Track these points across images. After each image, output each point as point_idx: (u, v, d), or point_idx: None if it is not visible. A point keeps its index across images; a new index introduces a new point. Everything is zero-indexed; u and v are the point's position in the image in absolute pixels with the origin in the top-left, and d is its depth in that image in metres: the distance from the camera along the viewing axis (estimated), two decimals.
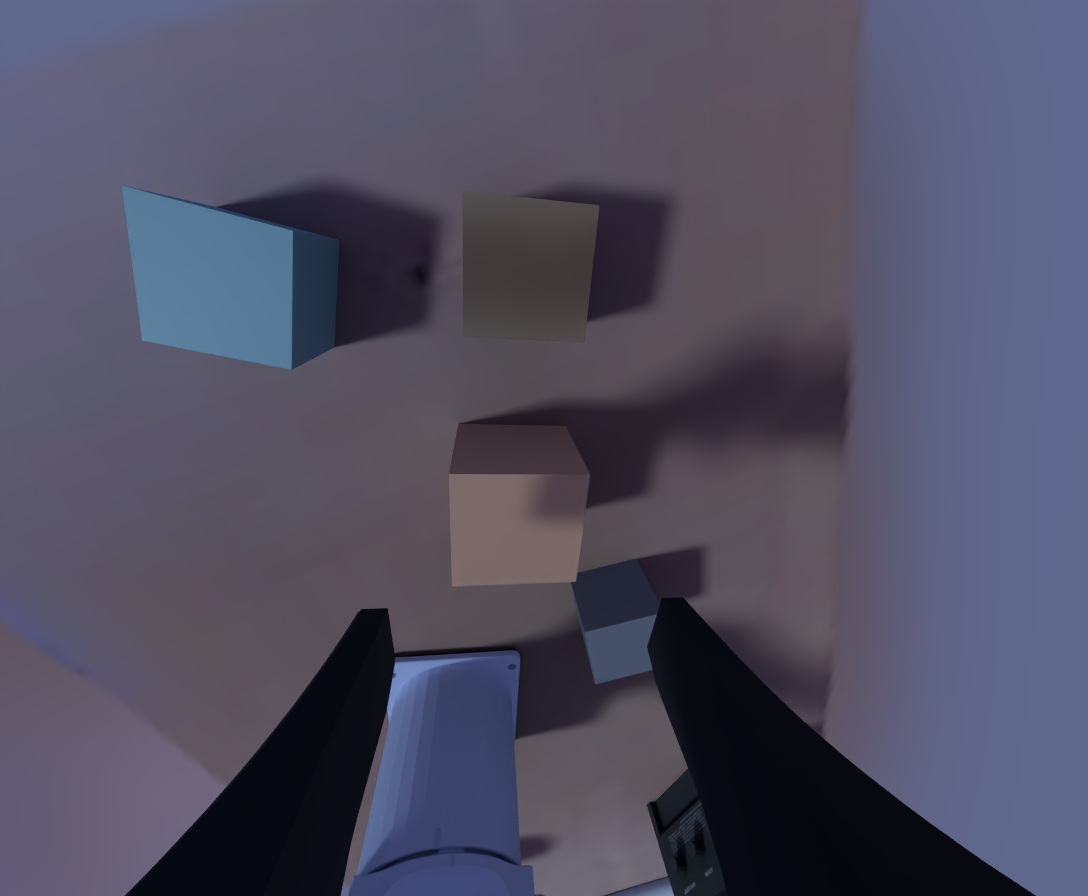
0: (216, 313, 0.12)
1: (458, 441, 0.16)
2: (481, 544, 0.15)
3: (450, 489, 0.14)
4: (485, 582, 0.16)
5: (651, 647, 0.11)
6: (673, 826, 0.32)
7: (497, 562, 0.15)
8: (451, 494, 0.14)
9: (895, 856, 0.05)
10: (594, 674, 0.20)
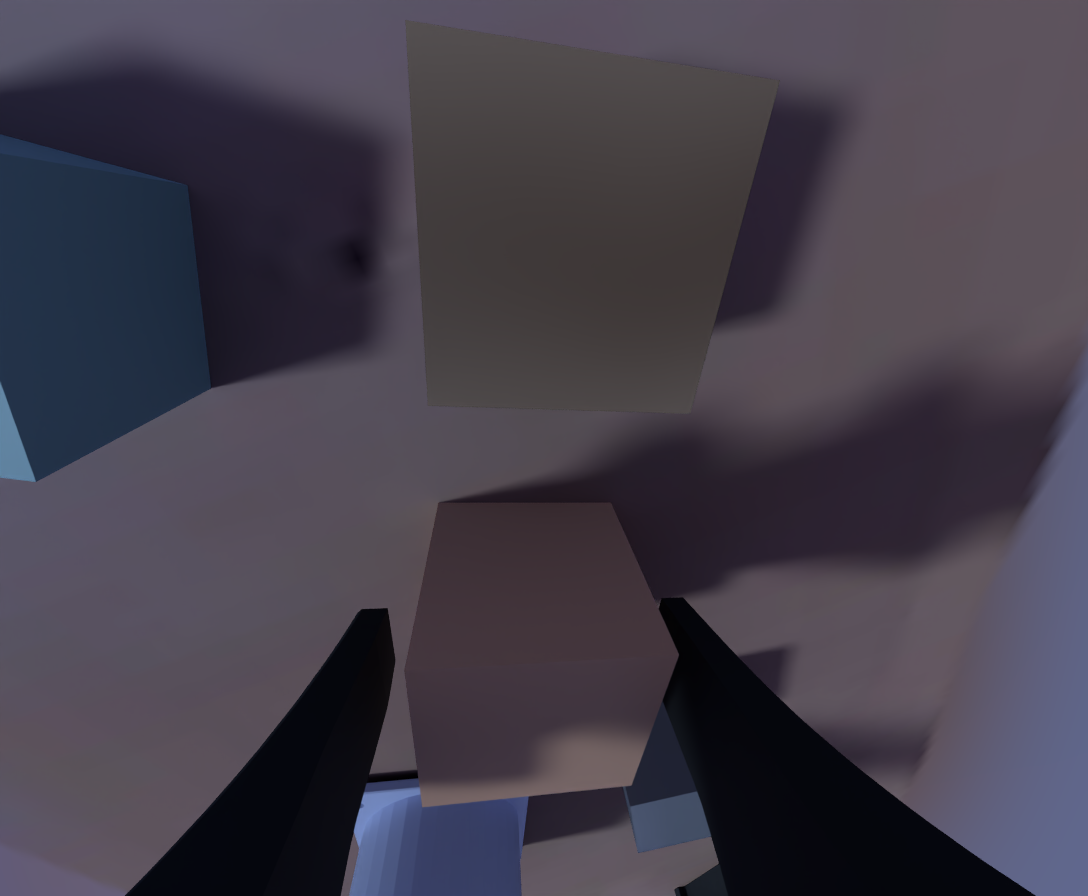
0: None
1: (434, 554, 0.09)
2: (472, 757, 0.08)
3: (409, 691, 0.07)
4: (480, 799, 0.09)
5: None
6: None
7: (499, 775, 0.09)
8: (412, 697, 0.07)
9: (895, 856, 0.05)
10: (638, 844, 0.14)
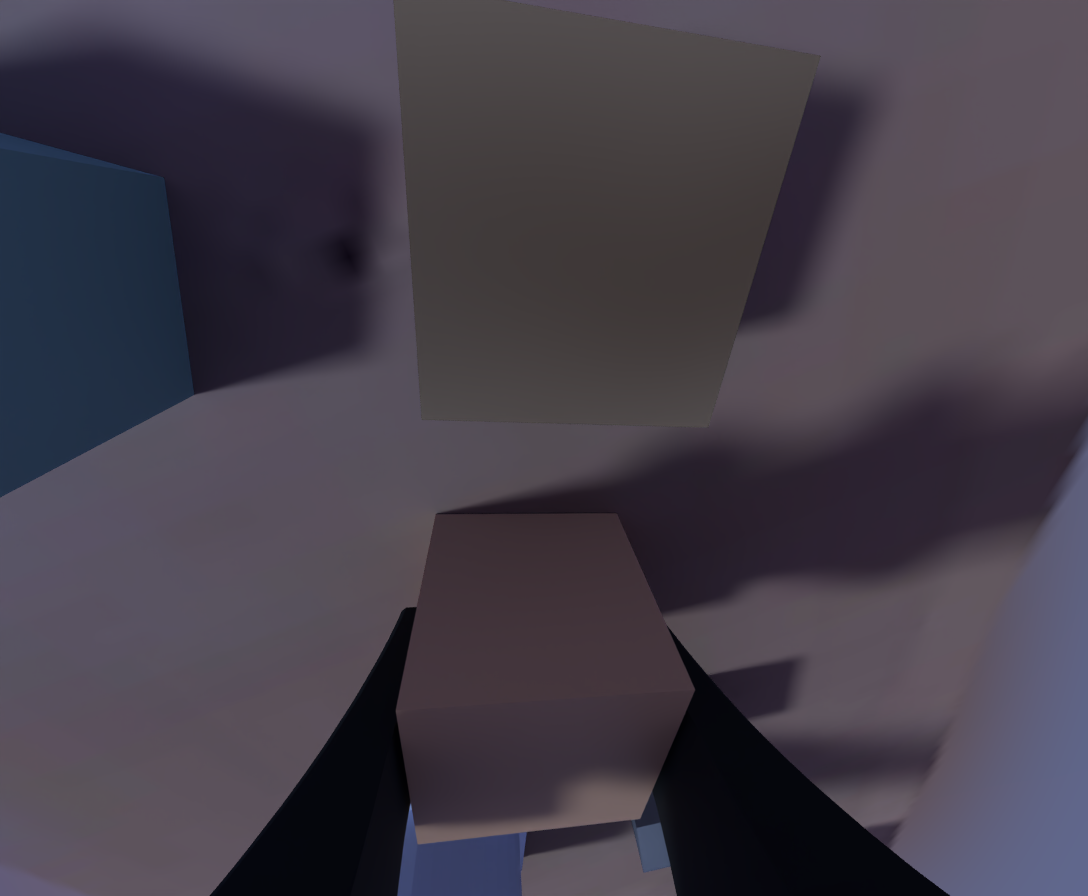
0: None
1: (429, 574, 0.09)
2: (471, 794, 0.08)
3: (401, 731, 0.07)
4: (479, 835, 0.09)
5: None
6: None
7: (500, 811, 0.08)
8: (404, 737, 0.07)
9: (827, 865, 0.05)
10: (644, 864, 0.14)
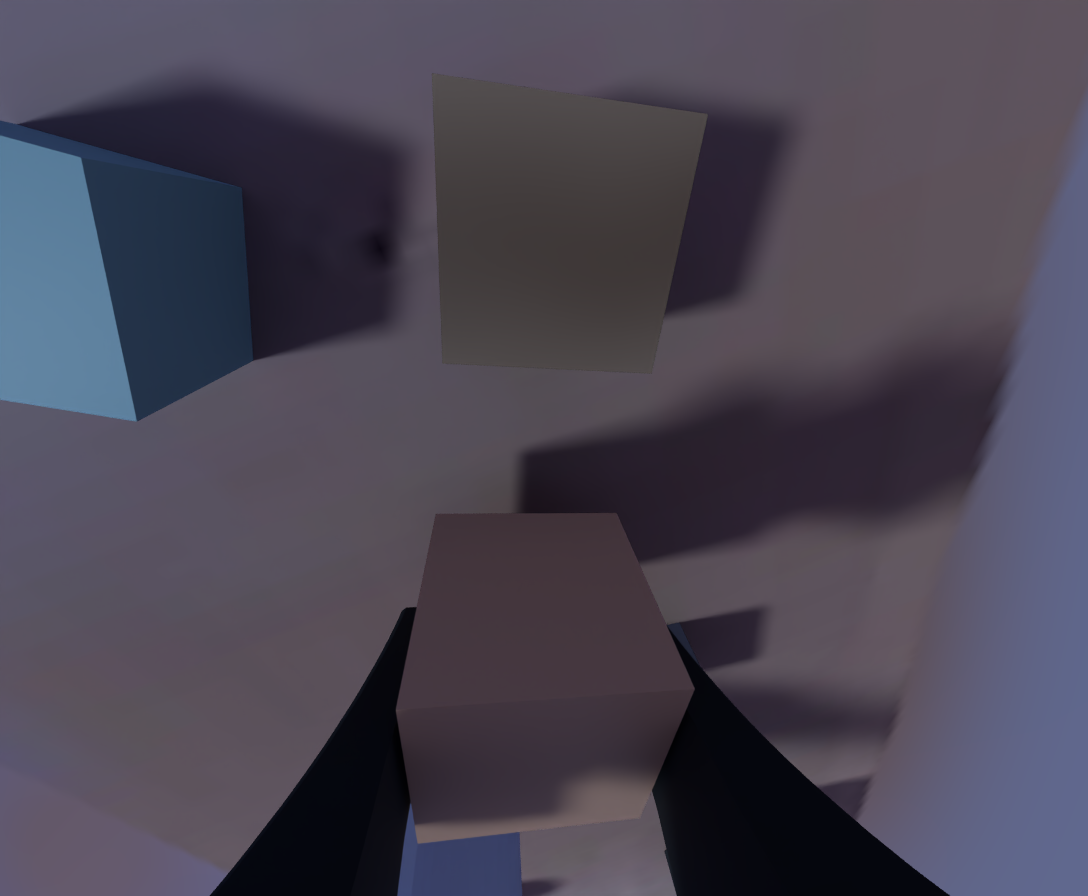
0: None
1: (429, 574, 0.09)
2: (470, 794, 0.08)
3: (401, 730, 0.07)
4: (479, 833, 0.09)
5: None
6: None
7: (500, 811, 0.08)
8: (404, 736, 0.07)
9: (827, 866, 0.05)
10: None
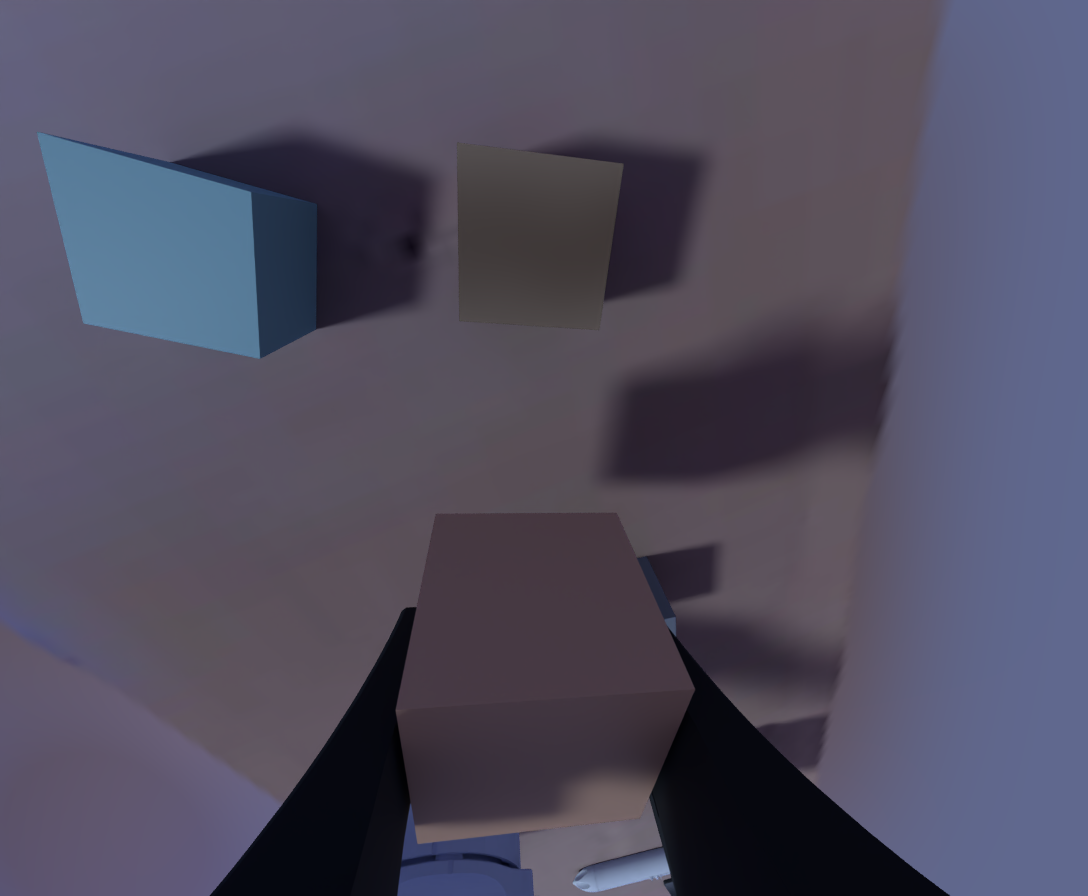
0: (166, 292, 0.10)
1: (429, 574, 0.09)
2: (471, 794, 0.08)
3: (401, 730, 0.07)
4: (479, 834, 0.09)
5: None
6: None
7: (500, 811, 0.08)
8: (404, 736, 0.07)
9: (827, 866, 0.05)
10: None
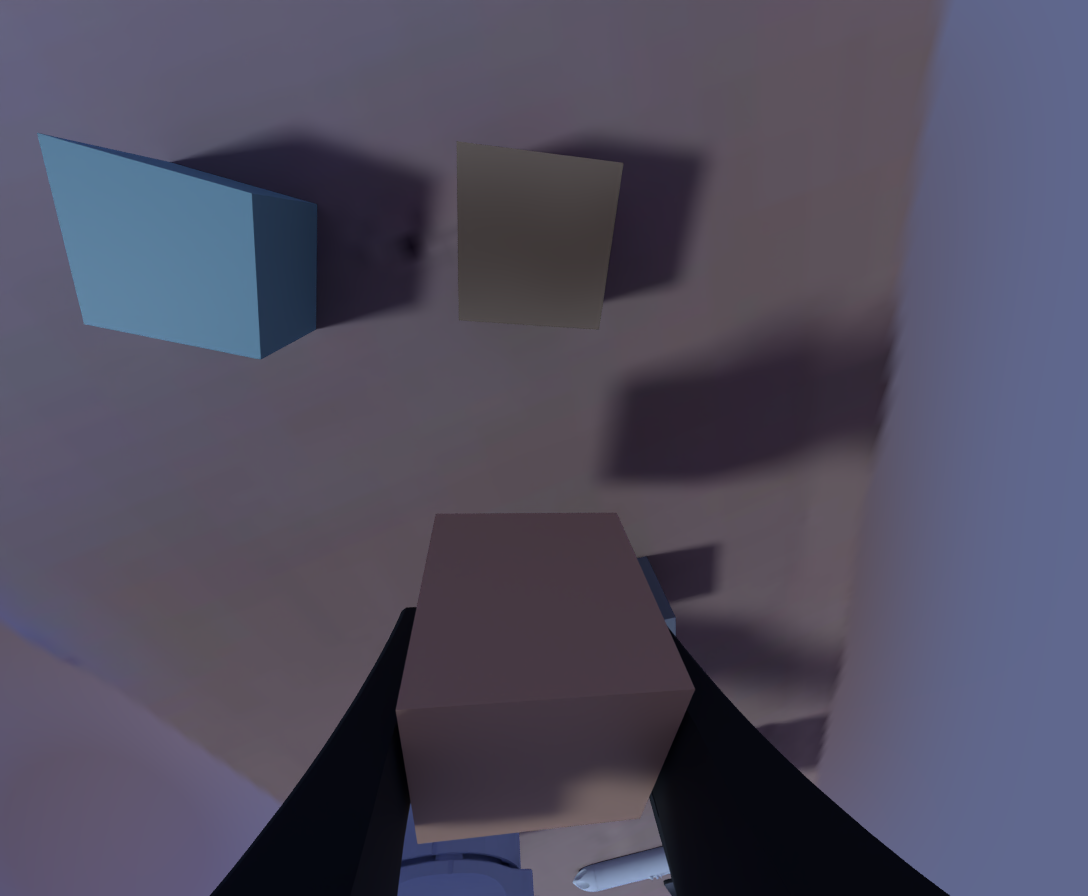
0: (167, 293, 0.10)
1: (429, 574, 0.09)
2: (471, 794, 0.08)
3: (401, 730, 0.07)
4: (479, 834, 0.09)
5: None
6: None
7: (500, 811, 0.08)
8: (404, 736, 0.07)
9: (827, 866, 0.05)
10: None
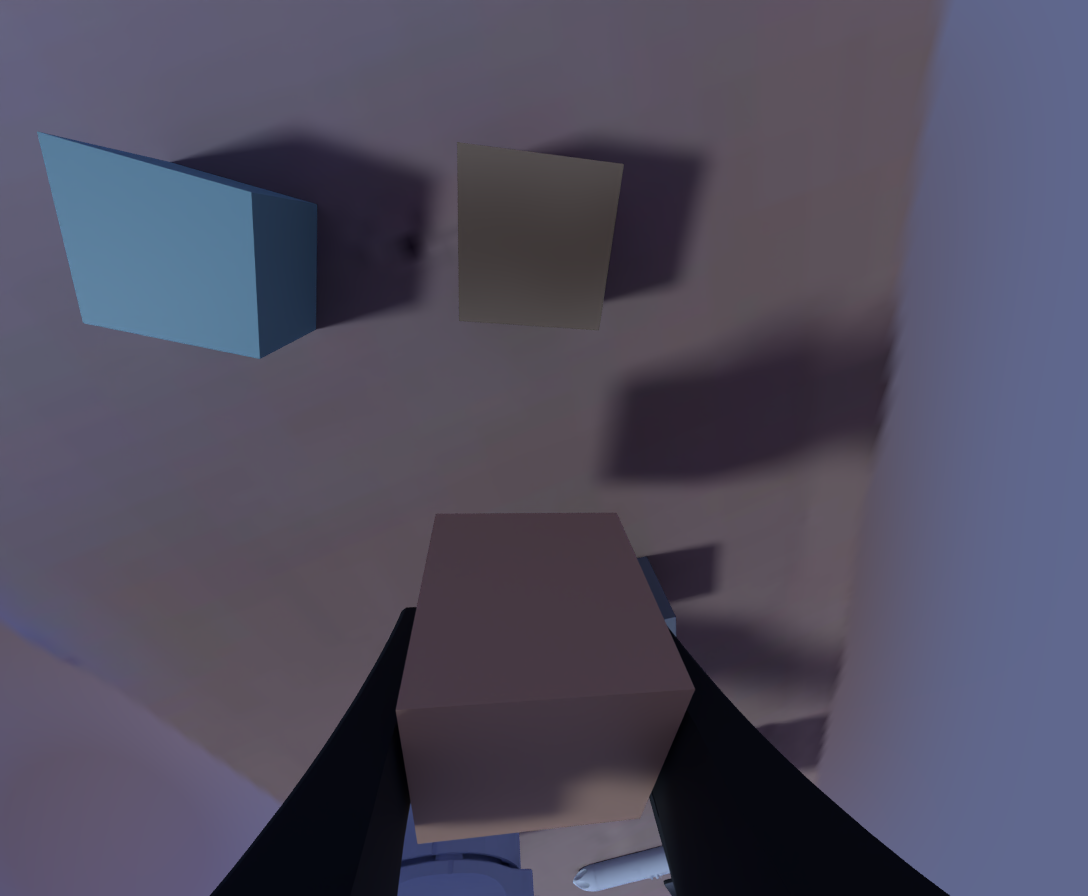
0: (166, 292, 0.10)
1: (429, 574, 0.09)
2: (471, 794, 0.08)
3: (401, 730, 0.07)
4: (479, 834, 0.09)
5: None
6: None
7: (500, 811, 0.08)
8: (404, 736, 0.07)
9: (827, 866, 0.05)
10: None
